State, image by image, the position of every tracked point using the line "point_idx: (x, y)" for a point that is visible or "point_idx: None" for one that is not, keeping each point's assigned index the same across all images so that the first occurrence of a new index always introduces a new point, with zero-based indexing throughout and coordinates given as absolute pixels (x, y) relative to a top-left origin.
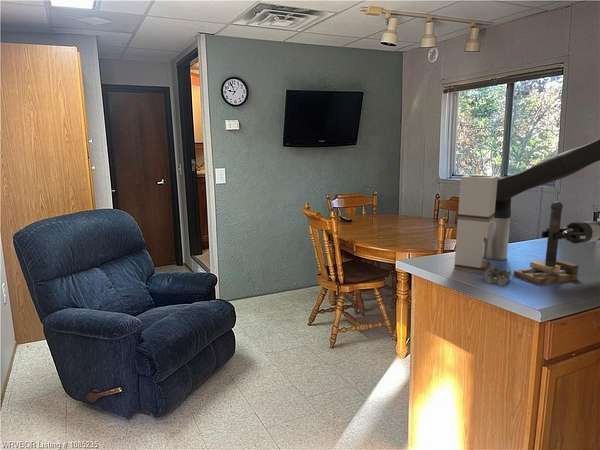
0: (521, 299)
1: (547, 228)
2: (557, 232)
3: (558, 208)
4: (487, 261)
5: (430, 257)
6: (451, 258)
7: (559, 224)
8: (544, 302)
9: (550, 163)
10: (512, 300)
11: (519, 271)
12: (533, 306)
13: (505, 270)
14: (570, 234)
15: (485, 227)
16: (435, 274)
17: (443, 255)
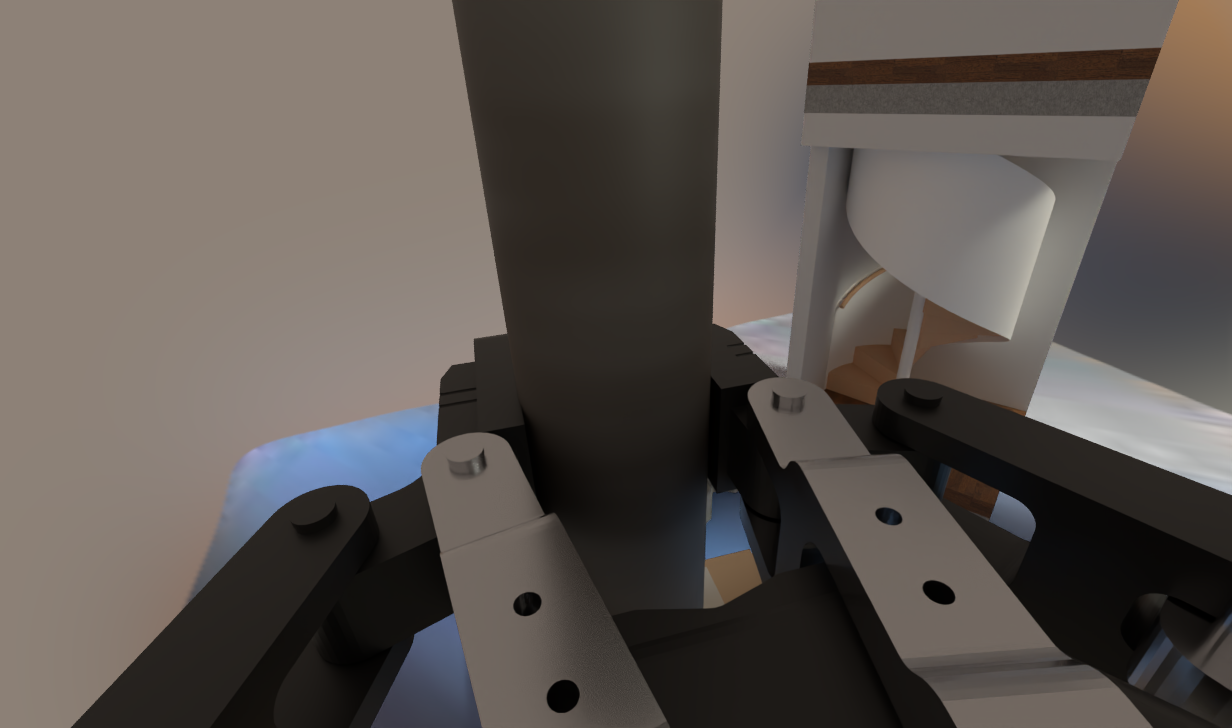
0: (361, 447)
1: (975, 402)
2: (516, 384)
3: None
4: (990, 490)
5: (1065, 356)
6: (1115, 418)
7: (492, 229)
8: (270, 506)
9: None
10: (372, 419)
11: (723, 573)
12: (274, 450)
13: (707, 481)
14: (277, 530)
15: (880, 171)
16: (736, 327)
17: (1180, 404)
